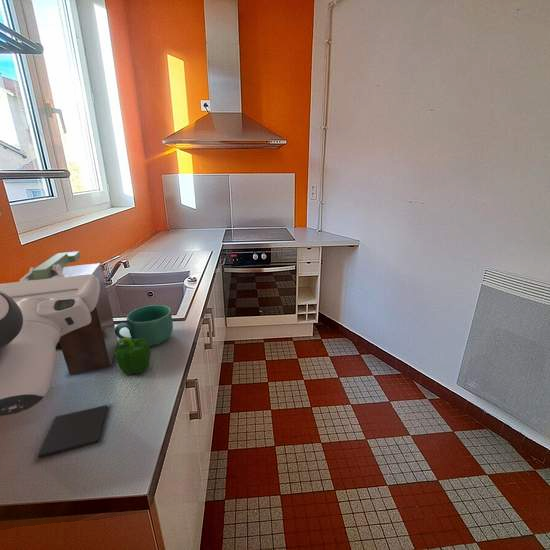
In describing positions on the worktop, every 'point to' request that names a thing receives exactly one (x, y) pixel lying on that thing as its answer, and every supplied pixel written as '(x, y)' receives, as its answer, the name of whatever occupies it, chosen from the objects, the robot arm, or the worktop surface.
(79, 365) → the stand
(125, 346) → the bell pepper
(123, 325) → the mug
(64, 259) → the hammer
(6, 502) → the worktop surface
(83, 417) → the mat
